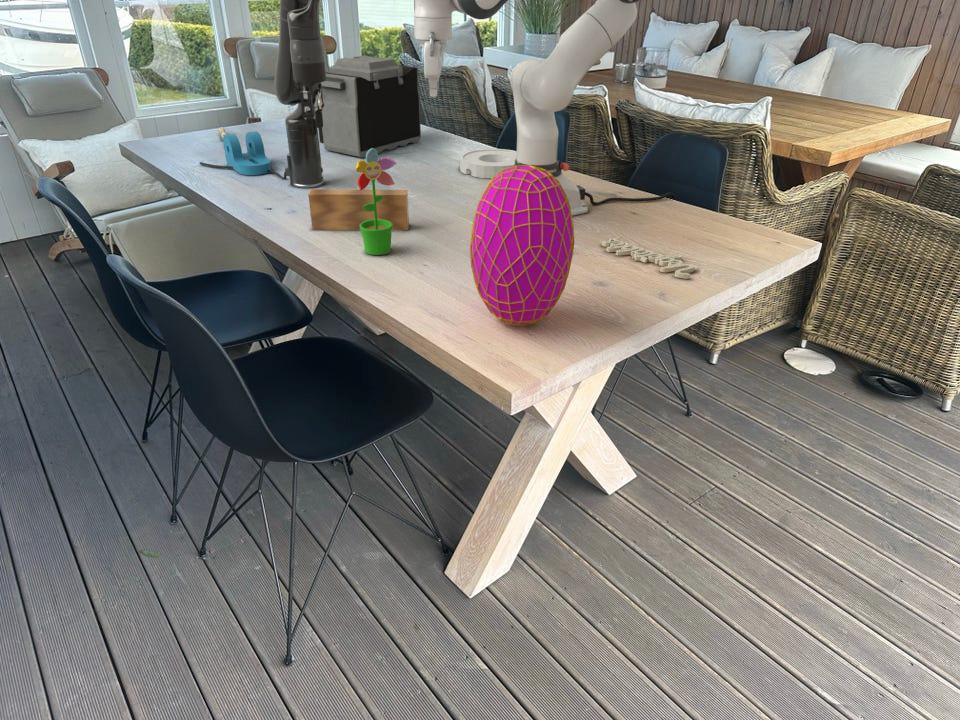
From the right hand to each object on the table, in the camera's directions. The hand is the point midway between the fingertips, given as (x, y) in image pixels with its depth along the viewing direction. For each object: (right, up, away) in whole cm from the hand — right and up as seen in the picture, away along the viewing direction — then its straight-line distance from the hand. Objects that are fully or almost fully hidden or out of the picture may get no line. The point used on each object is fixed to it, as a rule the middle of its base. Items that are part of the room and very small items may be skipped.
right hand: (434, 92), depth 168 cm
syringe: (-87, +19, +96) cm, 131 cm away
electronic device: (-30, +15, +90) cm, 96 cm away
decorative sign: (+52, -41, -4) cm, 66 cm away
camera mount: (-65, -2, +61) cm, 89 cm away
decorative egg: (+19, -58, -32) cm, 69 cm away
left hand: (-29, -9, 0) cm, 31 cm away
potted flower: (-13, -39, -2) cm, 41 cm away
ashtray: (+16, -1, +63) cm, 65 cm away
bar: (-20, -31, +13) cm, 39 cm away
